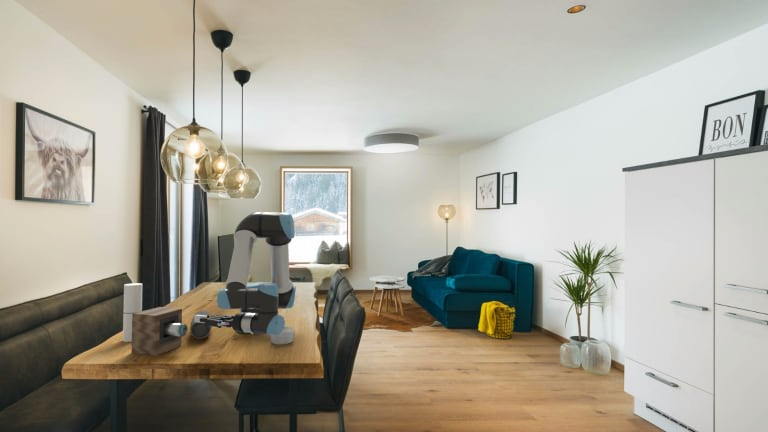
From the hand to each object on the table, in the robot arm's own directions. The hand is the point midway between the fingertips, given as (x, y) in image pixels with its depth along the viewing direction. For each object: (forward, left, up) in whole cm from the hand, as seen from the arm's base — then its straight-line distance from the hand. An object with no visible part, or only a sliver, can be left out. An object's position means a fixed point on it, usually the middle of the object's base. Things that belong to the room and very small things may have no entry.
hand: (195, 318), depth 168 cm
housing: (+18, -7, -15) cm, 25 cm away
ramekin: (-32, -17, -15) cm, 39 cm away
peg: (+12, -5, -8) cm, 15 cm away
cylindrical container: (+36, -22, -15) cm, 45 cm away
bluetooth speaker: (+8, -29, -15) cm, 34 cm away
